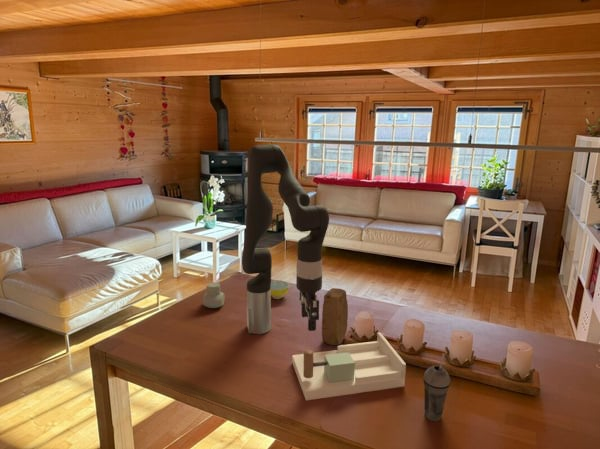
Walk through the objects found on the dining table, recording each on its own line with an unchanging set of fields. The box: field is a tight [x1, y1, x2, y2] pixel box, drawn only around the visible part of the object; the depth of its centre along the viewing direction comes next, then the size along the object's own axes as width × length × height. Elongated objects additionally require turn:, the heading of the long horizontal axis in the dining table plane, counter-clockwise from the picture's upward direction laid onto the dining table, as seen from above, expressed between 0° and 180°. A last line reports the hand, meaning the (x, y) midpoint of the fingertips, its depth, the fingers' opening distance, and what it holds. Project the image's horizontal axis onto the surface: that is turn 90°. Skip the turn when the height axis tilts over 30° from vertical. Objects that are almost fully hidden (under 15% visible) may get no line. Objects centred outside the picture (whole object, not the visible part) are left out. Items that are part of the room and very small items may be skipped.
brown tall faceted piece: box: [321, 287, 349, 346], centre depth 158 cm, size 11×8×20 cm
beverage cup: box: [422, 352, 451, 422], centre depth 118 cm, size 7×7×20 cm
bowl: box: [271, 279, 290, 300], centre depth 196 cm, size 11×12×6 cm
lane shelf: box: [291, 332, 407, 401], centre depth 138 cm, size 32×20×8 cm, turn 103°
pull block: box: [303, 349, 355, 383], centre depth 131 cm, size 16×6×10 cm, turn 103°
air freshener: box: [202, 281, 226, 309], centre depth 186 cm, size 11×8×10 cm
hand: (308, 323), depth 127 cm, fingers open, 8 cm apart
